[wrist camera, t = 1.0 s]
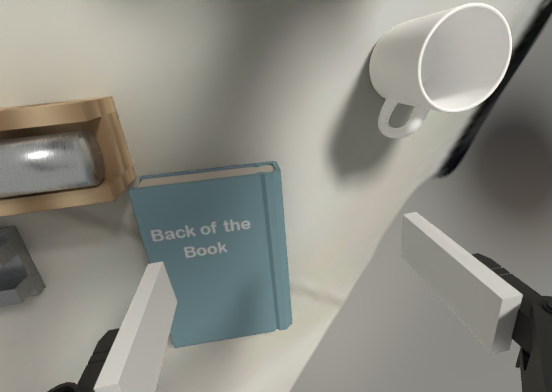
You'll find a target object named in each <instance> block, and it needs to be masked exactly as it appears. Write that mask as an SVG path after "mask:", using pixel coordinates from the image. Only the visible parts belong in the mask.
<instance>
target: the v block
mask: <svg viewBox="0 0 552 392" xmlns="http://www.w3.org/2000/svg"><path fill="white" fill-rule="evenodd" d="M44 288H45V285H44V283H43V281H42V279H41V277H40V275H39V273H38V271H37V269H36V267H35V265H34V263H33V261H32V259H31V257H30V255H29V253H28V251H27V249H26V247H25V245H24V243H23V241H22V239H21V237H20V235H19V233H18V231H17V229H16V227H15V226H12V227H5V228H0V306H5V305H11V304H17V303H22V302H23V301H24V300H25V299H26V298H27V297H28V296H34V295H39V294H40V293H41V291H42V290H43V289H44Z"/></svg>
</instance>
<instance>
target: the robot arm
mask: <svg viewBox="0 0 552 392" xmlns="http://www.w3.org/2000/svg"><path fill="white" fill-rule="evenodd" d="M402 229H403V230H402V257H403V258H404V259H405V260H406V261H407V262H408V264H409V265H410V266H411V267H412V268H413V269H414V270H415V271H416V272H417V273H418V275H419V276H420V277H421V278H422V279H423V280H424V281H425V282H426V283H427V285H428V286H429V287H430V288H431V289H432V290H433V291H434V292H435V293H436V295H438V297H439V298H440V299H441V300H442V301H443V302H444V303H445V304H446V306H447V307H448V308H449V309H450V310H451V311H452V312H453V313H454V314H455V315H456V317H457V318H458V319H459V320H460V321H461V322H462V323H463V324H464V325H465V327H466V328H467V329H468V330H469V331H470V332H471V333H472V334H473V335H474V336H475V337H476V339H477V340H478V341H479V342H480V343H481V344H482V345H483V346H484V347H485V348H486V350H487V351H488V352H489V353H490V354H494V353H499V352H502V351H507V350H509V349H510V345H511V341H512V339H513V340H514V341H515V342H517V343H518V344H519V345H520V346H521V348H520V352H519V355H518V359H517V363H516V367H517V368H519V367H520V370H521V381H522V392H552V297H550V296H541V295H540V294H538V293H537V292H536V291H534V290H533V289H532V288H530V287H529V286H528V285H526V284H525V283H523V282H522V281H521V280H519V279H518V278H517V277H515V276H514V275H512V274H510V273H509V272H508V271H507V270H506V269H504V268H502V267H501V266H500V265H499V264H497V263H496V262H495V261H493V260H492V259H490V258H488V257H486V256H483V255H481V254H479V253H477V254H472V255H471V254H470V253H468V252H467V251H466V250H465V249H463V248H462V247H460V246H459V245H458V244H457V243H455V242H454V241H453V240H451V239H450V238H449V237H448V236H446V235H445V234H444V233H443V232H441V231H440V230H439V229H437V228H436V227H435V226H434V225H432V224H431V223H430V222H428V221H427V220H426V219H425V218H423V217H422V216H421V215H419V214H418V213H417V212H414V213H409V214H404V215H403V228H402ZM176 305H177V299H176V297H175V294H174V291H173V288H172V285H171V283H170V280H169V277H168V274H167V272H166V269H165V266H164V263H163V261H162V262H157V263H152V264H148V265H147V268H146V270H145V272H144V275H143V277H142V279H141V281H140V284H139V286H138V288H137V290H136V293H135V295H134V297H133V300H132V302H131V304H130V306H129V309H128V311H127V313H126V316H125V318H124V320H123V322H122V325H121V327H120V328H118V329H113V330H109V331H108V332H107V333H106V334H105V335H104V336H103V337H102V338H101V339H100V341H99V342H98V344H97V346H96V348H95V350H94V352H93V355H92V356H91V358H90V360H89V362H88V365H87V366H86V368H85V370H84V372H83V374H82V376H81V378H80V380H79V382H78V384H77V385H76V384H75V383H72V382H66V383H63V384H60V385H58V386H56V387H54V388H52V389H51V390H49V391H48V392H156V388H157V384H158V380H159V376H160V372H161V367H162V363H163V359H164V355H165V351H166V347H167V342H168V338H169V334H170V330H171V326H172V322H173V317H174V313H175V309H176Z"/></svg>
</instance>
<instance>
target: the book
mask: <svg viewBox="0 0 552 392" xmlns="http://www.w3.org/2000/svg"><path fill="white" fill-rule="evenodd" d="M140 181H141V183H140V184H139V185H138V186H137V188H130V189H129V190H128V194H129V197H130V201H131V204H132V207H133V211H134V214H135V217H136V221H137V224H138V227H139V231H140V234H141V237H142V241H143V244H144V247H145V251H146V254H147V257H148V261H149V264H152V263H157V262H162V261H163V263H164V266H165V269H166V272H167V274H168V277H169V280H170V283H171V285H172V288H173V291H174V294H175V297H176V299H177V305H176V309H175V313H174V317H173V322H172V326H171V330H170V334H171V338H172V341H173V344H174V348H178V347H184V346H190V345H196V344H202V343H208V342H214V341H220V340H226V339H231V338H237V337H243V336H249V335H255V334H261V333H267V332H273V331H275V330H276V329H279V330H285V329H287V328H288V327H289V326H290V325H291V324H292V312H291V299H290V287H289V274H288V261H287V248H286V235H285V222H284V209H283V196H282V183H281V171H280V168H279V166H278V164H277V162H273V161H271V162H263V163H254V164H245V165H237V166H228V167H219V168H211V169H202V170H194V171H185V172H176V173H168V174H159V175H150V176H142V177H140Z"/></svg>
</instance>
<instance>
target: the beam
mask: <svg viewBox="0 0 552 392" xmlns="http://www.w3.org/2000/svg"><path fill="white" fill-rule="evenodd" d="M80 130H86V131H88V132H90V133H91V134H92V135H93V136H94V137H95V139H96V140H97V142H98V144H99V146H100V148H101V151H102V154H103V158H104V164H105V172H104V177H103V180H102V182H101V183H100V184H99V185H95V186H87V187H79V188H72V189H64V190H57V191H49V192H42V193H34V194H26V195H19V196H11V197H4V198H0V216H7V215H15V214H22V213H29V212H37V211H44V210H51V209H59V208H66V207H73V206H81V205H88V204H95V203H102V202H110V201H115V200H116V199H117V197H118V196H119V195H120V194H121V193H122V192H123V191H124V190H125V189H126V188H127V186H128V185H129V184H130V183H131V182H132V181H133V180H134V179H135V178H136V175H135V172H134V168H133V165H132V162H131V158H130V155H129V152H128V148H127V145H126V142H125V138H124V135H123V132H122V128H121V125H120V122H119V118H118V115H117V112H116V108H115V105H114V102H113V98H112V96H111V97H102V98H93V99H83V100H74V101H65V102H56V103H46V104H37V105H28V106H19V107H9V108H0V140H3V139H12V138H20V137H29V136H37V135H46V134H55V133H63V132H72V131H80Z"/></svg>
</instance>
